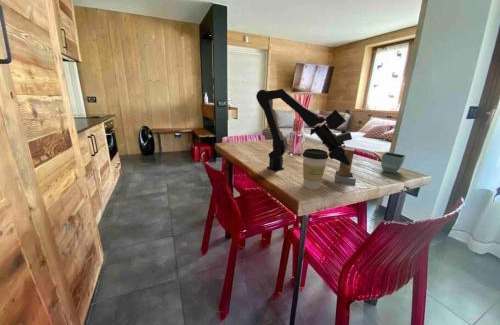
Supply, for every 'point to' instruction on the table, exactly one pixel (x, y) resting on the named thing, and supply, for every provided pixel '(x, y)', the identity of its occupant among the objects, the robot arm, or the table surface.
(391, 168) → the flower pot
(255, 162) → the table surface
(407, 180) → the table surface
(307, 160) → the coffee cup
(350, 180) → the u-shaped bracket
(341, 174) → the wooden block
